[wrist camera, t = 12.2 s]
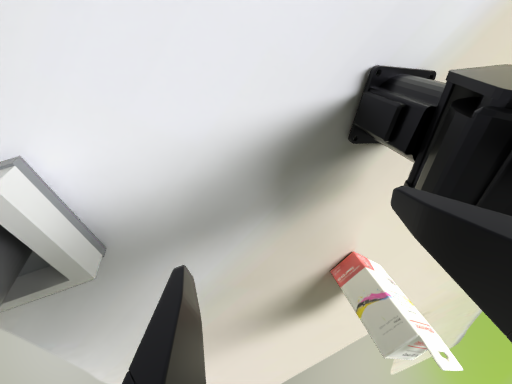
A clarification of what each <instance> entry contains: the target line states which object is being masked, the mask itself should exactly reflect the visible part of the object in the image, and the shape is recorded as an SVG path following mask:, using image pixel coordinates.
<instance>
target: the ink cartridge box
mask: <svg viewBox="0 0 512 384" xmlns="http://www.w3.org/2000/svg"><path fill="white" fill-rule="evenodd" d="M330 272H331V274H332V275H333V277H334V278H335V280H336V282H337V283H338V285H339V286H340V288H341V290H342V291H343V293H344V294H345V296H346V298H347V299H348V301H349V302H350V304H351V306H352V307H353V309H354V310H355V312H356V314H357V315H358V317H359V318H360V320H361V322H362V323H363V325H364V326H365V328H366V330H367V331H368V333H369V335H370V336H371V338H372V339H373V341H374V343H375V344H376V346H377V348H378V349H379V351H380V353H381V354H382V356H383V357H384V358H392V359H406V360H413V359H415V358H417V357H418V356H420V355H421V354H423V353H424V352H426V351H427V350H428V351H429V352H430V354H431V355H432V357H433V358H434V360H435V361H436V363H437V364H438V366H439V367H440V368H441V369H442V370H444V371H445V370H449V371H458V370H461V371H463V369H462V367H461V365H460V364H459V363H458V361H457V360H456V359H455V357H454V356H453V355H452V353H451V352H450V350H449V349H448V348H447V346H446V345H445V343H444V342H443V341H442V339H441V338H440V337H439V335H438V334H437V333H436V332H435V330H434V329H433V328H432V327H431V326H430V324H429V323H428V322H427V321H426V320H425V318H424V317H423V316H422V315H421V314H420V312H419V311H418V310H417V309H416V308H415V307H414V305H413V304H412V303H411V302H410V301H409V299H408V298H407V297H406V296H405V294H404V293H403V292H402V291H401V290H400V289H399V287H398V286H397V285H396V284H395V282H394V281H393V280H392V279H391V278H390V276H389V275H388V274H387V273H386V272H385V270H384V269H383V268H382V267H381V266H380V265H379V264H377V263H375V262H373V261H371V260H369V259H367V258H365V257H363V256H361V255H359V254H357V253H355V252H352V253H351V254H350V255H349V256H347V257H346V258H345V259H344V260H343V261H342V262H340V263H339V264H338V265H337V266H336V267H335V268H333V269H332V270H331V271H330ZM438 351H441V352H444V353H445V354H446V356H447V357H448V358H447V359H445V358H443V357H442V356H441V355H440V354H439V352H438Z"/></svg>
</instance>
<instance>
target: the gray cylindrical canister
mask: <svg viewBox="0 0 512 384" xmlns="http://www.w3.org/2000/svg"><path fill="white" fill-rule="evenodd" d="M32 251H33V250H32V249H30V248H29V247H28V246H27V245H25V244H24V243H23V242H22V241H20V240H19V239H18V238H17V237H15V236H14V235H13V234H12V233H10V232H9V231H8V230H7V229H5V228H4V227H3V226H2V225H0V306H1V304H2V303H3V301H4V299H5V297H6V296H7V294H8V292H9V291H10V289H11V287H12V285H13V284H14V282H15V280H16V279H17V277H18V275H19V273H20V272H21V270H22V268H23V267H24V265H25V263H26V261H27V260H28V258H29V256H30V255H31V253H32Z"/></svg>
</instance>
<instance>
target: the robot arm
mask: <svg viewBox="0 0 512 384" xmlns="http://www.w3.org/2000/svg"><path fill="white" fill-rule="evenodd" d="M377 71H378V73H377V75H376V72H377ZM435 77H436V72H435V71H431V70H422V69H412V68H401V67H391V66H380V65H376V66H374V67H373V68H372V69H371V71H370V74H369V77H368V80H367V83H366V86H365V89H364V92H363V95H362V98H361V101H360V104H359V107H358V110H357V113H356V116H355V119H354V122H353V126H352V129H351V132H350V135H349V138H348V139H349V141H350V142H351V143H353V144H363V143H382V144H383V145H385V146H387V147H388V148H390V149H392V150H393V151H395V152H397V153H398V154H400V155H402V156H404V157H405V158H407V159H409V160H410V161H412V162H414V165H413V167H412V170H411V172H410V175H409V177H408V180H406V181H405V184H404V186H400V187H398V188H395V189H394V190H393V194H392V199H391V206H392V208H393V210H394V211H395V212H396V214H397V215H398V216H399V218H400V219H401V220H402V222H403V223H404V224H405V226H406V227H407V228H408V230H409V231H410V232H411V234H412V235H413V236H414V237H415V238H416V240H417V241H418V242H419V243H420V244H421V245H422V246H423V247H424V248H425V249H426V250H427V252H428V253H429V254H430V255H431V256H432V257H433V258H434V259H435V260H436V261H437V262H438V263H439V264H440V266H441V267H442V268H443V269H444V270H445V271H446V272H447V273H448V274H449V275H450V276H451V277H452V278H453V280H454V281H455V282H456V283H457V284H458V285H459V286H460V287H461V288H462V289H463V290H464V291H465V292H466V294H467V295H468V296H469V297H470V298H471V299H472V300H473V301H474V302H475V303H476V304H477V305H478V306H479V308H480V309H481V310H482V311H483V312H484V313H485V314H486V315H487V316H488V317H489V318H490V319H491V320H492V322H493V323H494V324H495V325H496V326H497V327H498V328H499V329H500V330H501V331H502V332H503V333H504V335H506V336H507V338H508V339H509V340H510V341H511V342H512V65H508V64H505V65H495V66H486V67H476V68H467V69H457V70H449V73H448V75H447V78H446V80H447V82H446V83H443V82H439V81H434V79H435ZM355 136H356V137H355ZM354 137H355V138H354ZM353 138H354V139H353ZM122 384H206V377H205V362H204V348H203V334H202V322H201V315H200V309H199V304H198V299H197V293H196V288H195V283H194V279H193V276H192V275H191V273H190V272H189V270H188V269H187V267H186V266H185V265H182V266H179V267H176V268H174V269H173V271H172V273H171V276H170V278H169V280H168V282H167V285H166V287H165V289H164V291H163V294H162V296H161V298H160V300H159V303H158V305H157V307H156V309H155V311H154V314H153V316H152V318H151V320H150V323H149V325H148V327H147V329H146V332H145V334H144V336H143V338H142V340H141V343H140V345H139V347H138V349H137V352H136V354H135V356H134V358H133V361H132V363H131V365H130V367H129V371H128V372H127V374H126V376H125V378H124V380H123V383H122Z"/></svg>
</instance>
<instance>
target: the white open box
mask: <svg viewBox="0 0 512 384" xmlns="http://www.w3.org/2000/svg"><path fill="white" fill-rule="evenodd" d="M0 225H2V226H3V227H4V228H5V229H7V230H8V231H9V232H10V233H12V234H13V235H14V236H15V237H17V238H18V239H19V240H20V241H22V242H23V243H24V244H25V245H27V246H28V247H29V248H30V249H32V250H33V251H32V253H31V255H30V256H29V258H28V260H27V261H26V263H25V265H24V267H23V268H22V270H21V272H20V273H19V275H18V277H17V279H16V280H15V282H14V284H13V285H12V287H11V289H10V291H9V292H8V294H7V296H6V297H5V299H4V301H3V303H2V304H1V306H0V313H1V312H4V311H6V310H9V309H12V308H15V307H18V306H21V305H23V304H26V303H29V302H32V301H35V300H38V299H40V298H43V297H46V296H49V295H52V294H55V293H57V292H60V291H63V290H66V289H69V288H72V287H74V286H77V285H80V284H83V283H86V282H89V281H91V280H94V279H96V275H97V272H98V269H99V265H100V262H101V259H102V257H104V254H105V251H106V248H105V247H104V245H103V244H102V243H101V242H100V241H99V240H98V239H97V238H96V237H95V236H94V235H93V234H92V233H91V232H90V230H89V229H88V228H87V227H86V226H85V225H84V224H83V223H82V222H81V221H80V220H79V219H78V218H77V217H76V215H75V214H74V213H73V212H72V211H71V210H70V209H69V208H68V207H67V206H66V205H65V204H64V203H63V202H62V200H61V199H60V198H59V197H58V196H57V195H56V194H55V193H54V192H53V191H52V190H51V189H50V188H49V187H48V185H47V184H46V183H45V182H44V181H43V180H42V179H41V178H40V177H39V176H38V175H37V174H36V173H35V172H34V170H33V169H32V168H31V167H30V166H29V165H28V164H27V163H26V162H25V161H24V160H23V159H22V158H21V157H20V156H19V157H15V158H12V159H9V160H5V161H2V162H0Z"/></svg>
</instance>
